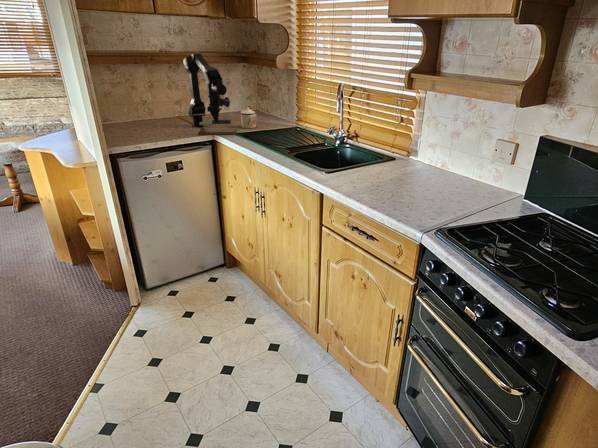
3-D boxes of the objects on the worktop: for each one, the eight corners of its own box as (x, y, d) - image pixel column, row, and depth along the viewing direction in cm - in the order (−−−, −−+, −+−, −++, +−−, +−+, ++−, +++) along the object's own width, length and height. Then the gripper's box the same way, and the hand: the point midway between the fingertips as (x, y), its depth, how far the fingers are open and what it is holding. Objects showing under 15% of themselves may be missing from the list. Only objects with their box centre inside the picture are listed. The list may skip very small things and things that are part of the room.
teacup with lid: (249, 129, 244) (247, 109, 239) (238, 127, 248) (236, 107, 244) (262, 126, 253) (261, 106, 248) (251, 124, 258) (250, 105, 253)
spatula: (199, 125, 226) (198, 121, 225) (200, 122, 231) (200, 119, 230) (230, 124, 228) (229, 121, 227) (231, 122, 233) (230, 119, 232)
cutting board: (200, 131, 236) (200, 129, 235) (235, 131, 239) (235, 128, 238) (198, 135, 228) (198, 132, 227) (234, 134, 230) (234, 131, 230)
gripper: (227, 95, 215) (229, 125, 222) (230, 91, 232) (232, 118, 239) (205, 95, 214) (209, 125, 220) (210, 91, 230) (213, 118, 237)
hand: (216, 121), depth 229 cm, fingers closed on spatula, 2 cm apart
